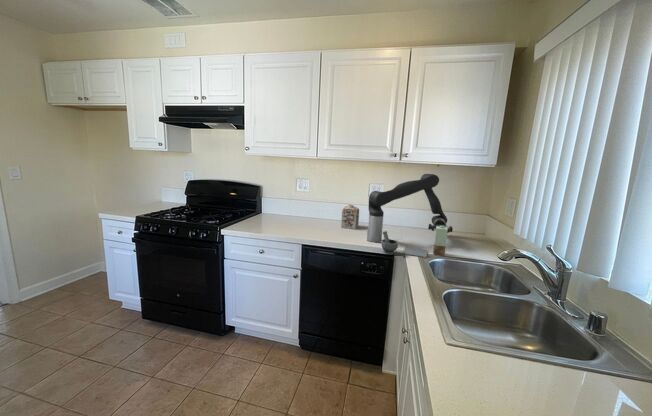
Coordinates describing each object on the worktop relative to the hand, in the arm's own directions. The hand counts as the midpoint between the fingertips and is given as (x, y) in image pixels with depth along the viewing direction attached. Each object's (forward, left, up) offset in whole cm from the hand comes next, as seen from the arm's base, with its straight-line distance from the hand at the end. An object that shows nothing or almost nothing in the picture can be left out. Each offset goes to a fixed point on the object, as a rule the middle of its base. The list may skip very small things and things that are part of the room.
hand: (440, 230), depth 169 cm
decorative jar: (-65, +25, -12) cm, 71 cm away
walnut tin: (0, -11, -12) cm, 16 cm away
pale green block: (0, -11, -6) cm, 13 cm away
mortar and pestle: (-28, -22, -12) cm, 38 cm away
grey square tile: (-13, -15, -12) cm, 23 cm away
